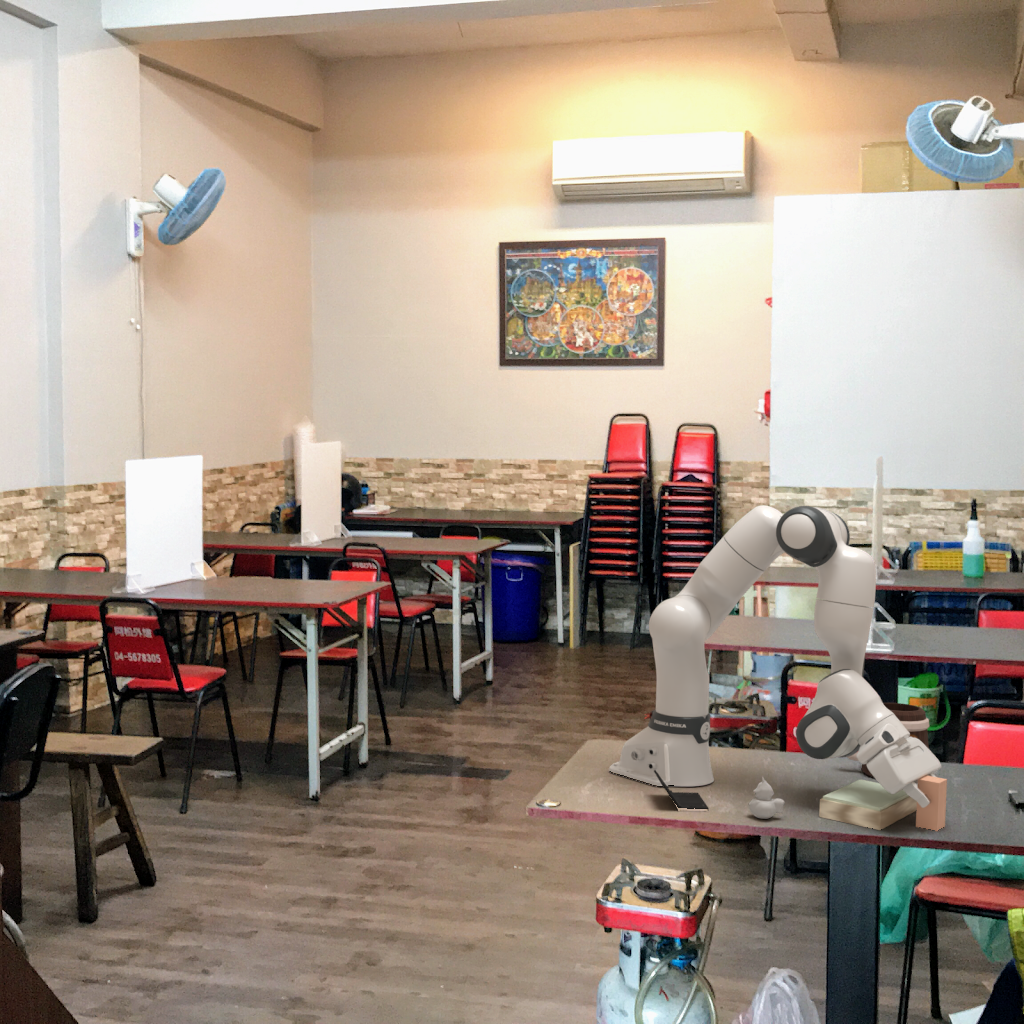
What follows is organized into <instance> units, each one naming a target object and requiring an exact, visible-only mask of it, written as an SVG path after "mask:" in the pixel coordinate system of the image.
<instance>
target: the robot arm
mask: <svg viewBox="0 0 1024 1024" xmlns="http://www.w3.org/2000/svg"><path fill="white" fill-rule="evenodd" d="M850 539H851V535H850V530H849V526H848V524H847V523H846V521H845V520H844V519H843V518H842V517H841V516H840V515H839V514H837V513H835V512H832V511H831V510H828V509H826V508H823V507H818V506H814V507H813V506H810V505H799V506H796V507H793V508H789V510H787V511H785V513H783V512H781V511H780V510H779V509H777V508H774V506H770V505H766V504H765V505H763V504H762V505H757V506H755V507H753V508H752V509H751V510H749V511H748V512H747V513H745V514H744V515H743V516H742V517H741V518H740V519H739V520H737V522H736V523H735V524H733V525H732V527H730V528H729V530H728V531H727V532H726V533H725V534H724V535H723V536H722V537H721V539H720V540H719V541H717V543H716V545H715V546H713V548H712V549H711V550H710V551H709V552H708V554H706V556H705V557H704V558H703V559H702V561H700V563H699V565H698V567H696V568H697V569H696V570H695V571H694V573H693V575H692V576H691V578H689V580H688V581H687V583H686V584H685V586H684V587H683V588H682V589H681V590H680V592H679V593H677V594H676V595H675V596H673V597H670V598H667V599H665V600H663V601H661V602H660V603H659V604H658V605H657V606H656V607H655V609H654V610H653V611H652V613H651V615H650V617H649V621H648V631H649V634H650V637H651V641H652V647H653V656H654V663H655V671H656V686H655V687H656V688H655V689H656V692H655V709H653V710H651V711H649V712H648V713H644V716H645V717H644V720H648V719H649V721H648V723H647V726H646V727H645V728H643V729H642V730H641V731H639V732H638V733H636V734H635V735H633V736H632V737H630V738H629V739H628V740H626V741H625V742H624V744H623V746H622V748H621V752H620V758H619V761H616V762H614V763H612V764H611V765H610V766H609V767H608V768H609V769H608V772H609V771H611V772H614V773H618V774H620V775H624V776H627V777H630V778H633V779H637V780H640V781H644V782H646V783H650V784H652V785H651V786H653V785H657V786H662V784H661V783H660V781H659V779H658V778H657V776H656V774H655V772H654V770H656V772H657V773H658V774H659V776H660V777H661V779H662V780H663V781H664V783H665V784H666V785H667V787H669V786H668V785H674V786H673V787H699V786H706V785H709V784H712V783H713V782H714V781H715V777H714V774H713V770H712V766H711V759H710V757H711V756H710V747H709V741H710V734H711V714H710V713H709V707H710V706H709V704H710V703H709V702H710V701H709V700H710V698H709V696H710V673H709V672H708V666H707V658H706V652H705V651H706V650H705V643H706V642H705V641H707V640H708V639H710V638H711V637H712V635H713V634H714V633H715V632H716V631H717V630H718V628H719V627H720V625H722V623H723V622H724V621H725V620H726V618H727V617H728V616H729V615H730V614H731V612H732V611H733V609H734V608H735V607H736V605H737V604H738V602H739V601H740V600H741V599H742V598H743V597H744V595H745V594H746V593H747V592H748V591H749V590H750V588H751V587H753V585H754V584H755V583H756V582H757V580H759V579H760V577H761V576H762V575H763V574H764V573H765V572H766V571H767V569H769V567H770V566H771V564H773V562H774V561H775V560H776V559H777V558H778V557H781V555H783V554H787V556H789V557H791V558H792V559H794V560H796V561H799V562H801V563H803V564H805V565H806V566H809V567H811V568H815V569H816V571H817V574H818V585H817V586H818V587H817V591H816V599H815V605H814V613H813V618H814V619H813V621H814V622H813V623H814V632H815V634H816V636H817V637H818V639H819V641H820V642H821V643H822V644H823V646H825V648H826V650H827V652H828V654H829V657H830V663H831V667H830V668H831V669H830V674H828V675H827V676H825V677H823V678H822V679H821V680H819V681H818V683H817V687H816V693H815V696H814V698H813V700H812V702H811V705H810V706H809V707H808V710H807V711H806V713H805V714H804V716H803V717H802V718H801V719H800V720H799V721H798V723H797V726H796V728H795V729H796V731H795V737H796V742H797V744H798V747H799V749H801V751H802V752H803V753H804V754H805V755H806V756H808V757H809V758H812V759H814V760H815V759H816V760H828V759H829V760H830V759H836V758H843V759H844V758H847V757H849V756H852V755H853V754H855V753H856V752H858V753H857V755H856V757H857V759H858V760H859V761H858V762H859V763H861V765H862V764H867V768H868V770H869V771H870V773H871V774H872V775H873V776H874V777H875V778H874V779H875V780H876V781H877V783H880V785H881V786H882V787H883V788H884V789H885V790H886V791H888V792H889V793H891V794H895V793H897V792H899V791H901V790H904V791H905V792H906V794H907V795H909V796H910V797H911V798H913V799H914V800H916V801H917V802H918V803H919V805H920V806H921V807H922V808H924V807H926V806H928V805H929V804H930V803H931V799H930V798H929V797H928V795H927V794H925V795H924V793H923V792H921V791H920V790H919V789H918V788H917V787H918V779H920V778H922V777H924V776H926V775H927V776H933V777H937V776H936V774H935V773H937V772H938V771H940V769H941V768H942V764H941V762H940V760H939V759H938V758H937V757H936V755H935V754H934V753H933V752H932V751H931V750H930V748H929V749H928V748H927V747H926V746H925V745H924V744H923V743H922V742H921V741H920V740H919V739H917V738H913V737H910V733H909V732H908V730H907V729H906V728H905V727H904V725H903V724H902V723H901V722H900V721H899V719H898V718H897V717H896V716H895V715H894V713H893V712H891V711H890V710H889V709H887V708H886V707H885V705H884V704H883V703H884V702H883V700H882V699H881V696H880V695H879V694H878V692H877V691H876V690H875V689H874V688H873V686H872V685H871V684H870V683H869V682H868V681H867V680H866V679H865V678H864V671H865V661H866V660H865V659H866V650H867V646H868V639H869V635H870V630H871V624H872V619H873V614H874V607H875V600H876V587H877V586H876V585H877V581H876V580H877V577H876V576H877V575H876V574H877V572H876V561H875V560H874V558H873V556H872V555H871V554H869V553H868V552H867V551H866V550H864V549H861V548H859V547H853V546H850V545H849V544H850V541H851V540H850ZM611 772H610V773H611ZM614 773H613V774H614ZM620 775H619V776H620ZM624 776H623V777H624ZM627 777H626V778H627ZM630 778H629V779H630ZM633 779H632V780H633ZM637 780H636V781H637ZM640 781H639V782H640ZM646 783H645V784H646ZM650 784H649V785H650ZM657 786H656V787H657Z"/></svg>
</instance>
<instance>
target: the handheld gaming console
mask: <svg viewBox="0 0 1024 1024" xmlns="http://www.w3.org/2000/svg"><path fill="white" fill-rule="evenodd" d="M654 772H655V774H656V776H657V778H658V779H659V781H660V783H661V784H662V786H663V787H662V788H663V789H664V790H665V791H666V793H667V794H668V797H669V796H670V797H671V798H672V800H673V801H674V803H675V804H676V805H677V807H678V808H687V809H694V808H695V809H708V810H709V807H708V805H707V804H706V802H705V800H704V799H703V798H702V797H701V795H700V794H699V792H690V791H689V792H687V791H686V792H684V791H683V792H681V791H678V792H677V791H673V790H671V789H669V786H667V785H666V784H665V783H664V781H663V780H662V779H661V777H660V776H659V774H658V773H657V772H656V770H654ZM670 797H669V798H670ZM671 798H670V799H671ZM672 800H671V801H672ZM674 803H673V804H674Z"/></svg>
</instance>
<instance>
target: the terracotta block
mask: <svg viewBox="0 0 1024 1024" xmlns="http://www.w3.org/2000/svg"><path fill="white" fill-rule="evenodd" d="M947 784H948V779H947V778H942V777H938V776H936V777H933V776H927V775H926V776H924V777H922V778H920V779H918V782H917V786H918V787H917V788H918V789H919V790H920V791H921V792H923V793H924V795H925V794H927V795H928V797H929V798H930V799H931V803H930V804H929V805H928V806H926V807H924V808H922V807H921V806H920V805H919V803H918V802H917V811H915V812H916V814H915V815H916V816H915V828H919V827H921V828H920V829H923V828H926V829H925V830H928V829H931V830H930V831H932V830H935V831H934V832H939V831H940V830H939V829H941V828H942V829H944V828H945V827H946V813H947V812H946V810H947V790H948V789H947V786H948V785H947ZM943 827H944V828H943ZM942 829H941V830H942ZM938 830H939V831H938Z"/></svg>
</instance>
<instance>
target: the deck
mask: <svg viewBox="0 0 1024 1024" xmlns="http://www.w3.org/2000/svg"><path fill="white" fill-rule="evenodd" d="M916 810H917V801H916V800H914V799H913V798H911V797H910V796H909V795H907V794H906V792H905V791H904V790H901V791H899V792H897V793H895V794H891V793H889V792H888V791H886V790H885V789H884V788H883V787H882V786H881V785H880V783H879V782H875V781H870V780H865V779H861V778H860V779H858V780H856V781H853V782H852V783H849V784H847V785H845V786H842V787H841V788H837V789H836V790H835V789H834V791H831V792H829V793H827V794H825V795H822V797H821V798H820V799H819V813H818V815H819V816H818V817H819V818H823V819H827V820H832V821H837V822H842V823H846V824H850V825H855V826H859V827H864V828H867V827H868V828H867V829H872V828H873V830H878V831H882V830H884V829H886V827H889V826H890V825H893V824H895V823H896V822H898V821H899V820H901V819H904V818H905V817H907V816H910V815H911V814H913V813H915V812H916ZM881 829H882V830H881Z"/></svg>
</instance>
